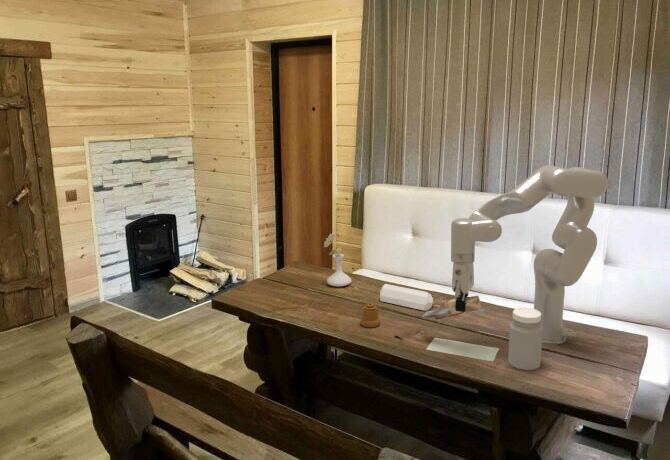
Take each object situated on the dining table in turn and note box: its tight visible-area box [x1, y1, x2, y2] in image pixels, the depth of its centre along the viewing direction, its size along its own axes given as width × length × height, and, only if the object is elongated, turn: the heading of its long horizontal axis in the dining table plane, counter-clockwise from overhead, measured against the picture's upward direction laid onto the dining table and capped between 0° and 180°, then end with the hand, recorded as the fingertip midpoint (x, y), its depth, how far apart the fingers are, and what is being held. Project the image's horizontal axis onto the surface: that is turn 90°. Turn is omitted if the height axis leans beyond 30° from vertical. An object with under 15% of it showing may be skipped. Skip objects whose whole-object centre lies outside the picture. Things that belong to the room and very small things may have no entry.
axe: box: [434, 307, 490, 320], centre depth 216 cm, size 22×6×2 cm, turn 118°
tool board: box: [425, 337, 500, 362], centre depth 186 cm, size 22×10×1 cm, turn 63°
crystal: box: [379, 283, 434, 312], centre depth 228 cm, size 7×7×24 cm
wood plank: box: [394, 326, 424, 340], centre depth 201 cm, size 15×2×5 cm
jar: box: [507, 306, 543, 371], centre depth 174 cm, size 10×10×18 cm
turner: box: [421, 295, 482, 320], centre depth 188 cm, size 20×5×4 cm, turn 60°
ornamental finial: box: [359, 303, 381, 329], centre depth 210 cm, size 8×8×8 cm
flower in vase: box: [323, 231, 352, 287], centre depth 251 cm, size 13×11×25 cm
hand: (461, 308), depth 186 cm, fingers closed on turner, 2 cm apart
